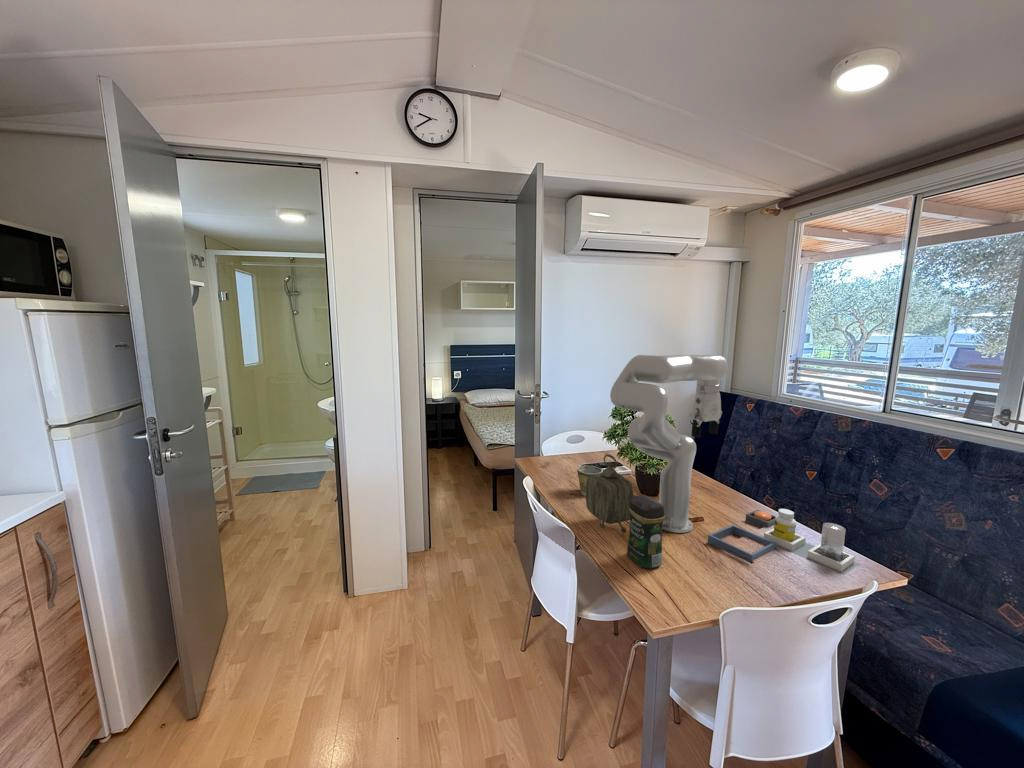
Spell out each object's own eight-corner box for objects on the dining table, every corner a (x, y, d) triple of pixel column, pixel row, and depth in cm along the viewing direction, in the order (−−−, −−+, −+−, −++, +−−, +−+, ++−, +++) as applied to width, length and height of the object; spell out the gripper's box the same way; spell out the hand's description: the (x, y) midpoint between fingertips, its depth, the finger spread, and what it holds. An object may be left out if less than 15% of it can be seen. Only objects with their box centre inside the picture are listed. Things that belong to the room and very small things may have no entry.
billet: (837, 567, 110) (841, 533, 109) (816, 558, 114) (819, 525, 113) (844, 561, 112) (848, 528, 111) (823, 553, 117) (827, 521, 115)
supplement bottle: (768, 537, 126) (771, 507, 125) (784, 536, 126) (787, 507, 125) (781, 546, 121) (784, 515, 119) (798, 545, 121) (801, 515, 120)
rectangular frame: (751, 563, 113) (752, 555, 113) (707, 542, 124) (708, 534, 124) (775, 550, 120) (776, 543, 119) (732, 531, 131) (732, 524, 131)
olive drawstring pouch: (631, 534, 129) (635, 460, 126) (608, 540, 125) (611, 463, 122) (604, 515, 142) (607, 448, 139) (583, 520, 139) (585, 450, 135)
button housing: (767, 530, 133) (768, 523, 132) (745, 521, 139) (745, 514, 139) (779, 524, 136) (779, 517, 136) (756, 516, 143) (757, 509, 142)
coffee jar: (622, 554, 117) (624, 494, 115) (644, 549, 120) (647, 490, 118) (643, 572, 108) (646, 507, 106) (666, 567, 111) (670, 503, 109)
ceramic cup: (588, 500, 156) (589, 475, 154) (571, 491, 164) (572, 468, 163) (611, 493, 162) (612, 469, 161) (594, 485, 171) (595, 462, 169)
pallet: (843, 577, 107) (845, 567, 106) (758, 541, 125) (759, 532, 125) (859, 566, 112) (860, 556, 111) (774, 533, 130) (775, 524, 130)
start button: (766, 523, 134) (766, 518, 134) (751, 517, 138) (751, 513, 138) (774, 519, 137) (774, 515, 136) (758, 514, 141) (759, 509, 141)
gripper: (701, 392, 136) (698, 440, 138) (732, 389, 144) (728, 434, 146) (682, 389, 143) (679, 435, 145) (713, 386, 151) (710, 430, 153)
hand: (704, 435), depth 146 cm, fingers open, 9 cm apart
